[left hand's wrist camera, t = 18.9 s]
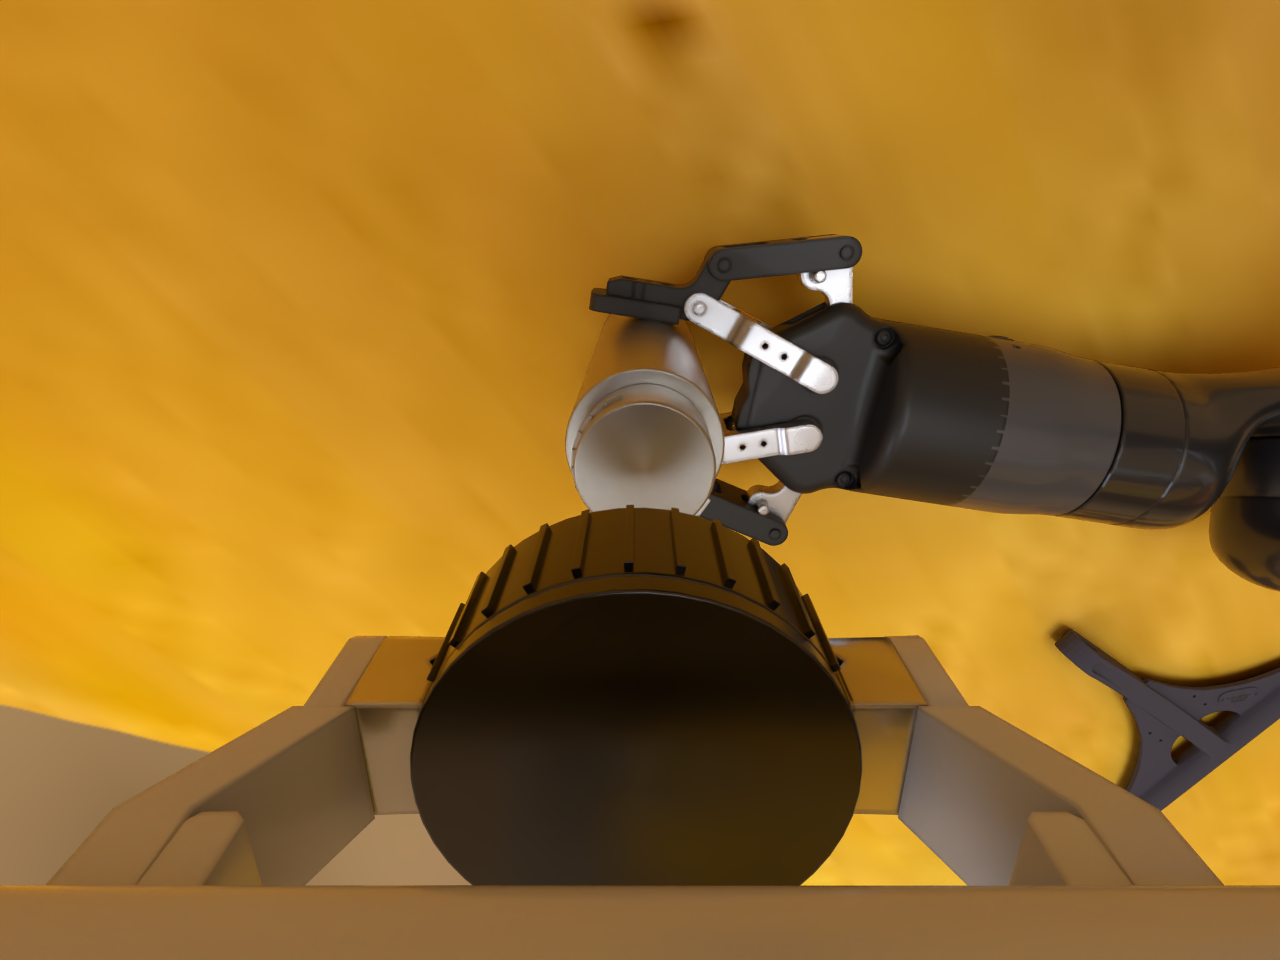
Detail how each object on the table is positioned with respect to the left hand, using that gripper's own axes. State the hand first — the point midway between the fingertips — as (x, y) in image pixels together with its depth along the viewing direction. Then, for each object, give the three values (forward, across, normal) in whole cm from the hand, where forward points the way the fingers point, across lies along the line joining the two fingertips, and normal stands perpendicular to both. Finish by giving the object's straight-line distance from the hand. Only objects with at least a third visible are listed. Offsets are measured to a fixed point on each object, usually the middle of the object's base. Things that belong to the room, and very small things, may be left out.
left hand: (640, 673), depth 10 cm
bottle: (+28, 0, 0) cm, 28 cm away
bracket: (+27, +31, -22) cm, 47 cm away
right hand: (+21, -2, 0) cm, 21 cm away
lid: (-2, 0, 0) cm, 2 cm away
